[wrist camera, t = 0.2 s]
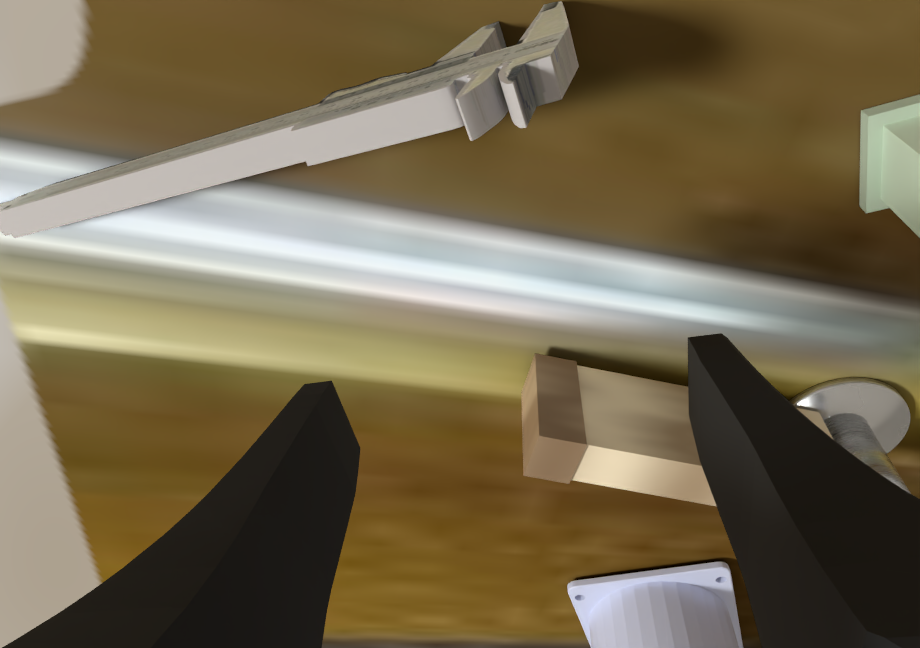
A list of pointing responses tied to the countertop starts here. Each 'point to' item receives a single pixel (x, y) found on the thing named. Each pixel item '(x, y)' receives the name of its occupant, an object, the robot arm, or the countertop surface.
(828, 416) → the hinge post
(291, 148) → the caliper
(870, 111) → the latch post
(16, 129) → the countertop surface
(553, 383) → the gate
